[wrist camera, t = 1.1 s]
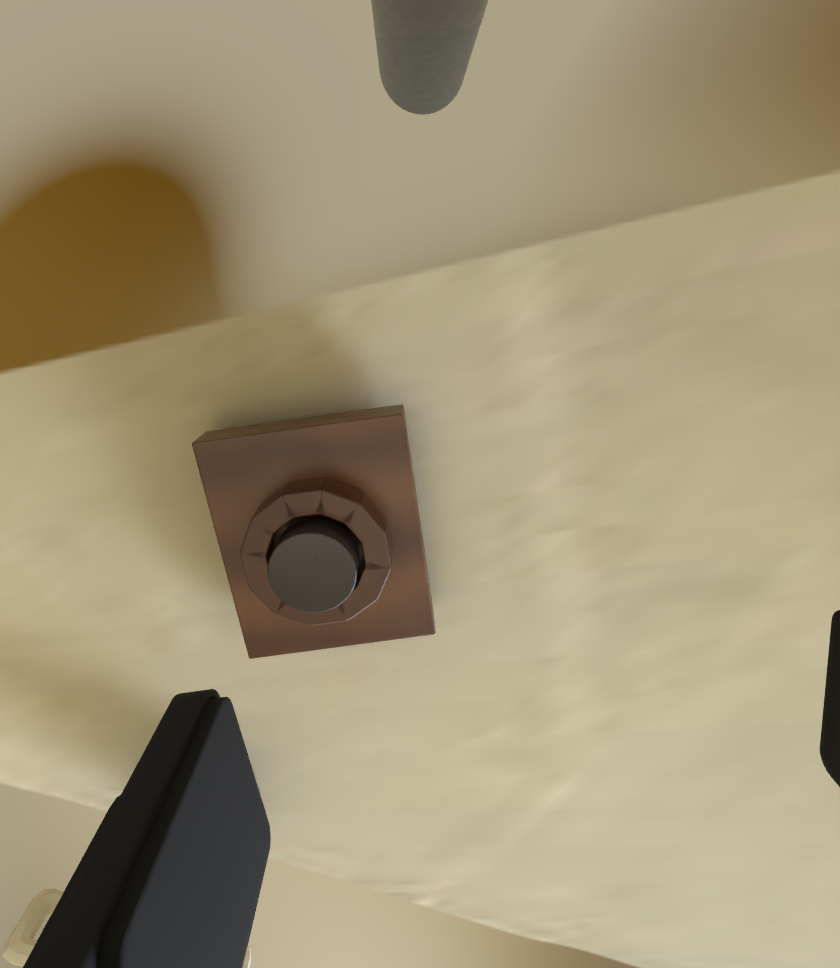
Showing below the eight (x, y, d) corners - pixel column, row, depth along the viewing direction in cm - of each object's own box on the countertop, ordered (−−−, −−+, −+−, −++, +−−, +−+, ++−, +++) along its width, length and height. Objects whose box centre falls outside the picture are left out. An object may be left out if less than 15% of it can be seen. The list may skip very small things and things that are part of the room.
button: (266, 523, 28) (258, 539, 27) (351, 512, 28) (348, 527, 27) (284, 599, 30) (277, 618, 28) (365, 588, 30) (363, 606, 28)
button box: (205, 431, 30) (177, 453, 27) (403, 404, 30) (403, 422, 26) (258, 636, 34) (240, 680, 31) (433, 612, 34) (437, 654, 30)
